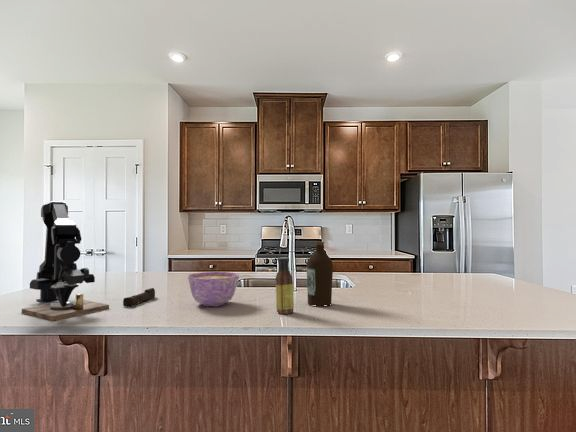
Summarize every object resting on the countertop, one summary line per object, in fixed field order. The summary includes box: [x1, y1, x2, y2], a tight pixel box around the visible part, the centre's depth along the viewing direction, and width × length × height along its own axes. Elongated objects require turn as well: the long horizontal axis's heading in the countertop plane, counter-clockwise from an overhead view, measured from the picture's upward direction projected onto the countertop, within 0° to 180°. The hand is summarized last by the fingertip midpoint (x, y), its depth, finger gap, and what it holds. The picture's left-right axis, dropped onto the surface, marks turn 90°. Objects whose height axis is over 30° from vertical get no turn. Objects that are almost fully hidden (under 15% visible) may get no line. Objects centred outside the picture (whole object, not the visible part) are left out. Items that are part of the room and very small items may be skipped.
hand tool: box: [122, 287, 156, 308], centre depth 148 cm, size 19×4×5 cm, turn 166°
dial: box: [49, 293, 84, 310], centre depth 132 cm, size 14×10×5 cm
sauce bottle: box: [275, 257, 294, 315], centre depth 132 cm, size 6×6×20 cm
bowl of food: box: [187, 271, 240, 307], centre depth 145 cm, size 20×20×12 cm
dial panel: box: [21, 299, 110, 322], centre depth 132 cm, size 20×20×2 cm
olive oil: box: [305, 241, 334, 306], centre depth 146 cm, size 11×11×25 cm
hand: (63, 306), depth 124 cm, fingers closed
